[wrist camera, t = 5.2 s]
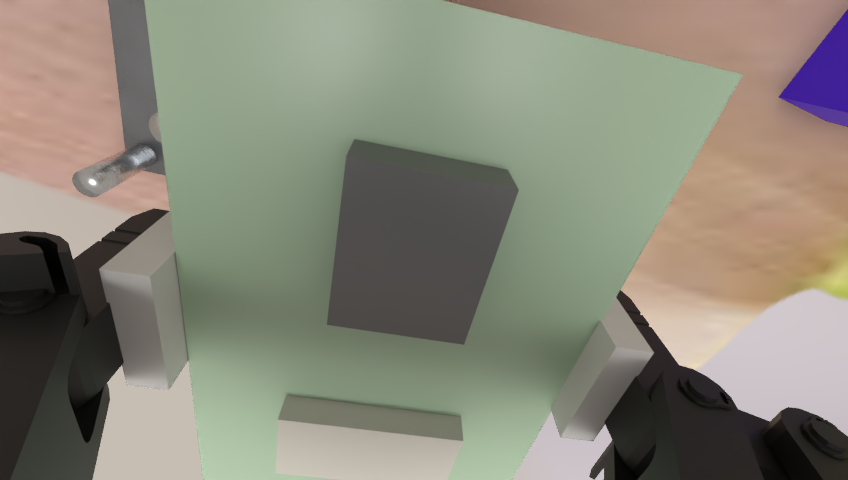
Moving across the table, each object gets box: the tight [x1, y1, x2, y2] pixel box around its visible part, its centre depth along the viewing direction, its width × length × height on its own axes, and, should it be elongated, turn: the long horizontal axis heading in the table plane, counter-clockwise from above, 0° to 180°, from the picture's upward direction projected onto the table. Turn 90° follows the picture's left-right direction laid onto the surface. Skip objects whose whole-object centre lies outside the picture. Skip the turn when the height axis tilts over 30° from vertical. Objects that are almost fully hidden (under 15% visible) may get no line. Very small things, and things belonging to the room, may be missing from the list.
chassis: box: [72, 0, 166, 197], centre depth 23 cm, size 18×14×7 cm
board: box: [144, 0, 743, 480], centre depth 9 cm, size 12×8×4 cm, turn 168°
